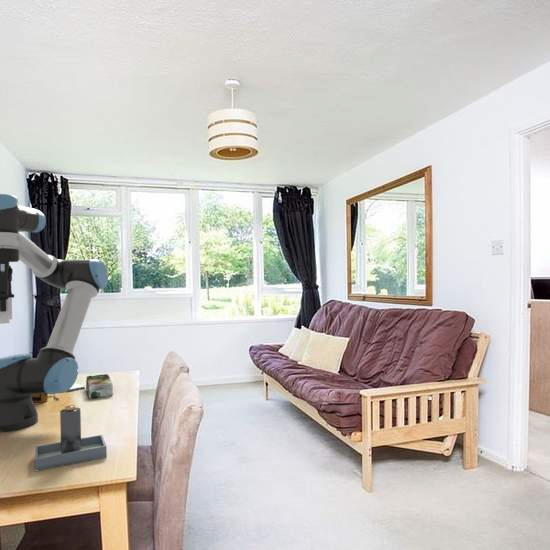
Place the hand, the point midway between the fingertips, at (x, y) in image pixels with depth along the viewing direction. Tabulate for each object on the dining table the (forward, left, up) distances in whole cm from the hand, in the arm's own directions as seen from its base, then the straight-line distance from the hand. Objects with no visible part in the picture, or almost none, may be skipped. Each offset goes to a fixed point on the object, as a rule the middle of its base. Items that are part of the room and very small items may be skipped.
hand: (5, 321), depth 127 cm
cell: (+17, +16, -36) cm, 43 cm away
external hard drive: (-69, +20, -38) cm, 81 cm away
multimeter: (-54, +9, -37) cm, 66 cm away
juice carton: (-54, +30, -37) cm, 72 cm away
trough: (+17, +16, -37) cm, 43 cm away
